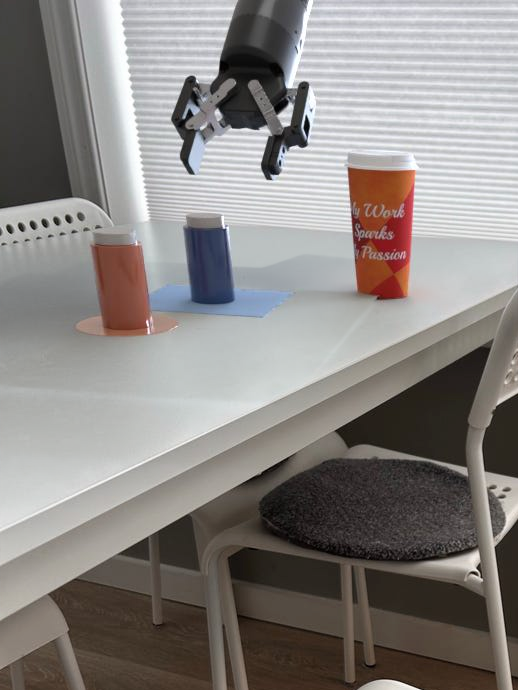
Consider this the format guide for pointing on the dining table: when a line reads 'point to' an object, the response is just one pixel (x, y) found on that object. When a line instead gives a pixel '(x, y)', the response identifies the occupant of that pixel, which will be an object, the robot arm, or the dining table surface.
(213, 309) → the blue mat
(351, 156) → the paper cup
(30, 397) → the dining table surface
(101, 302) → the red shaker
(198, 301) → the blue shaker
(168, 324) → the terracotta coaster
